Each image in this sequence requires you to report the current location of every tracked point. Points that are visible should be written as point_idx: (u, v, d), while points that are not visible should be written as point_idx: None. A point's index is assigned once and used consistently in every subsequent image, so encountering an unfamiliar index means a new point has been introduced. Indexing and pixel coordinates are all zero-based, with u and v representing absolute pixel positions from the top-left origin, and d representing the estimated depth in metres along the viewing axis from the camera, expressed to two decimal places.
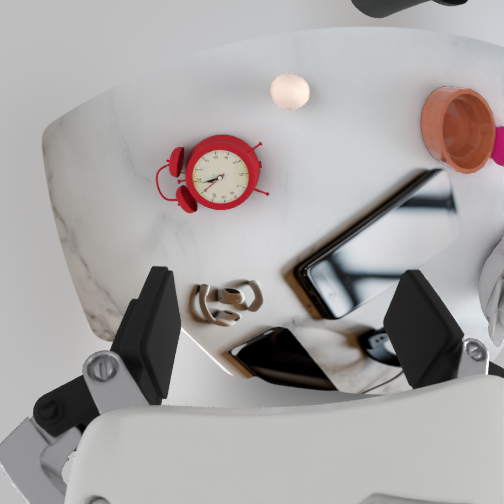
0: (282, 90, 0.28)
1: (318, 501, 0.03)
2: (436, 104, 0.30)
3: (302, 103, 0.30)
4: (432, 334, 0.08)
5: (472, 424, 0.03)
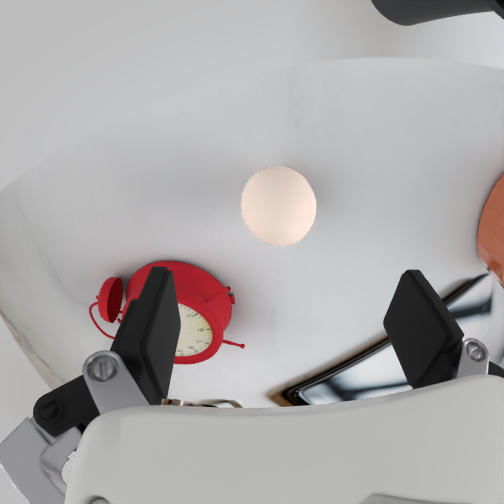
0: (260, 224, 0.16)
1: (318, 501, 0.03)
2: None
3: (300, 239, 0.17)
4: (432, 334, 0.08)
5: (472, 424, 0.03)
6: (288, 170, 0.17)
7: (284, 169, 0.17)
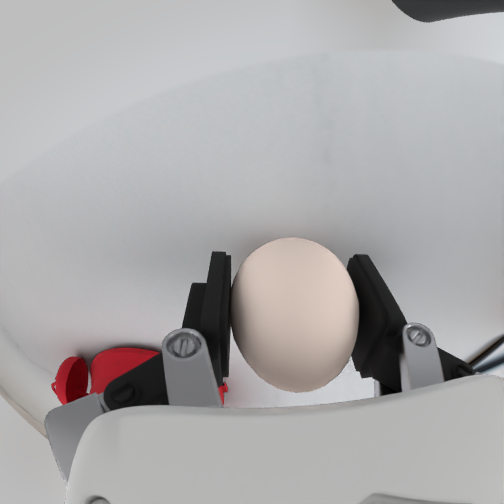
0: (263, 370, 0.08)
1: (318, 501, 0.03)
2: None
3: None
4: (372, 317, 0.09)
5: (472, 424, 0.03)
6: (315, 255, 0.09)
7: (308, 254, 0.09)
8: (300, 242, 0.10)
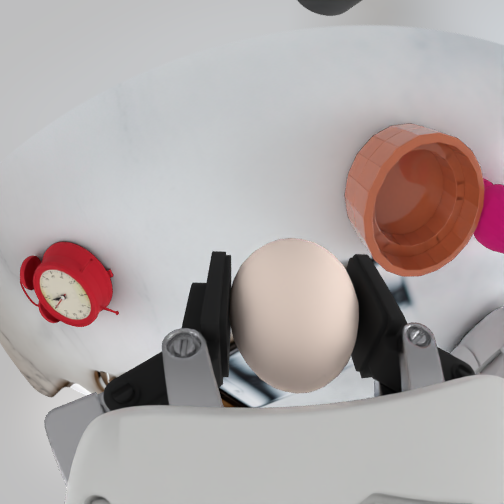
0: (263, 371, 0.08)
1: (318, 501, 0.03)
2: (367, 169, 0.20)
3: None
4: (372, 317, 0.09)
5: (472, 424, 0.03)
6: (315, 256, 0.09)
7: (308, 255, 0.09)
8: (300, 243, 0.10)
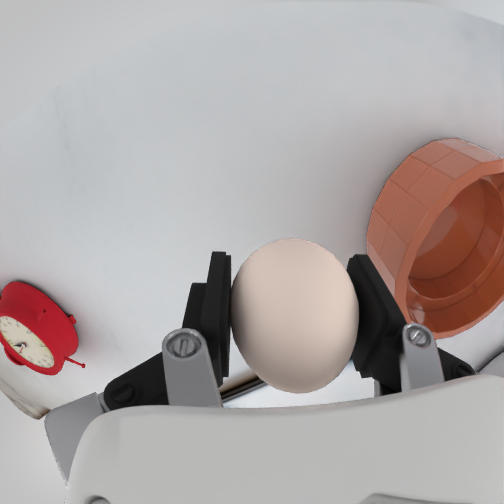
0: (263, 371, 0.08)
1: (318, 501, 0.03)
2: (406, 208, 0.13)
3: None
4: (372, 317, 0.09)
5: (472, 424, 0.03)
6: (315, 257, 0.09)
7: (308, 255, 0.09)
8: (300, 243, 0.10)
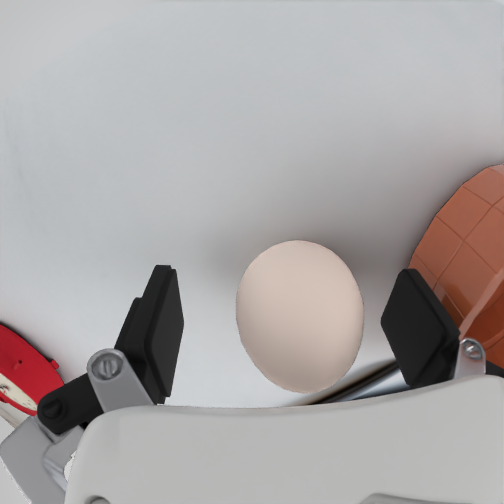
0: (271, 372, 0.08)
1: (318, 501, 0.03)
2: (463, 265, 0.09)
3: None
4: (429, 333, 0.08)
5: (472, 424, 0.03)
6: (321, 258, 0.09)
7: (314, 257, 0.09)
8: (306, 245, 0.10)
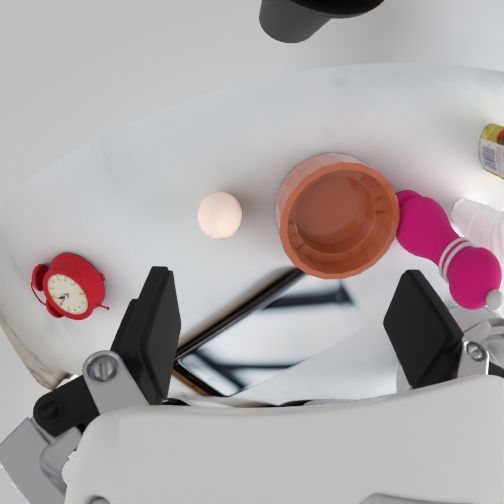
0: (204, 226, 0.28)
1: (318, 501, 0.03)
2: (283, 196, 0.29)
3: (231, 235, 0.30)
4: (432, 334, 0.08)
5: (472, 424, 0.03)
6: (223, 194, 0.29)
7: (221, 194, 0.29)
8: (220, 192, 0.30)
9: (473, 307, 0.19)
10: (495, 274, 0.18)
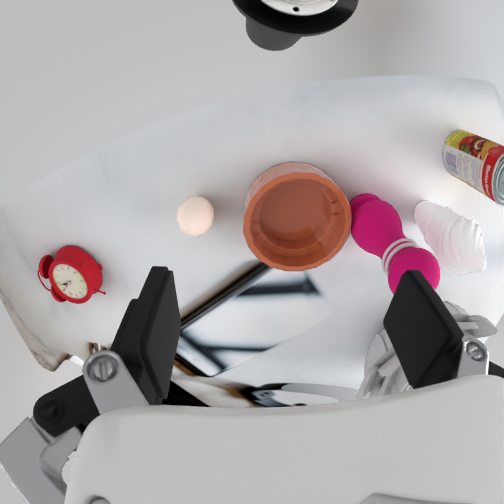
0: (181, 225, 0.34)
1: (318, 501, 0.03)
2: (247, 200, 0.35)
3: (204, 232, 0.35)
4: (432, 334, 0.08)
5: (472, 424, 0.03)
6: (198, 199, 0.35)
7: (196, 198, 0.35)
8: None
9: None
10: (429, 273, 0.24)
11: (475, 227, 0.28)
